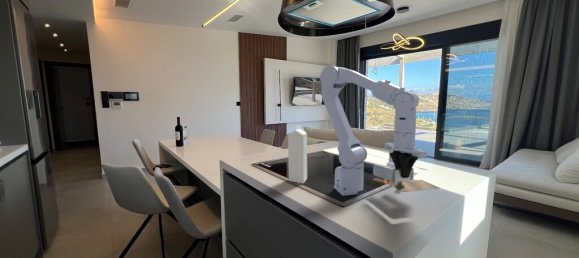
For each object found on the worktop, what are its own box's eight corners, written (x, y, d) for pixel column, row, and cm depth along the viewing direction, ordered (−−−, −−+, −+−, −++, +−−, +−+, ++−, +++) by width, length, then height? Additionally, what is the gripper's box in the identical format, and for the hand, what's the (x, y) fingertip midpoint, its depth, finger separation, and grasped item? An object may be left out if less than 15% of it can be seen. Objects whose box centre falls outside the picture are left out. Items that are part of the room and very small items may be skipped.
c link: (413, 179, 76) (413, 168, 75) (395, 182, 73) (395, 170, 73) (390, 172, 85) (390, 162, 85) (373, 174, 83) (373, 164, 83)
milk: (288, 182, 96) (287, 126, 94) (293, 177, 102) (292, 124, 99) (303, 183, 95) (303, 126, 92) (307, 178, 100) (306, 124, 97)
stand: (402, 194, 83) (403, 174, 82) (387, 185, 91) (387, 167, 90) (440, 190, 85) (441, 171, 85) (421, 182, 94) (422, 164, 93)
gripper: (377, 130, 79) (376, 171, 81) (413, 136, 65) (411, 186, 67) (395, 128, 81) (393, 169, 83) (433, 134, 68) (431, 182, 69)
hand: (402, 176), depth 75 cm, fingers closed on c link
